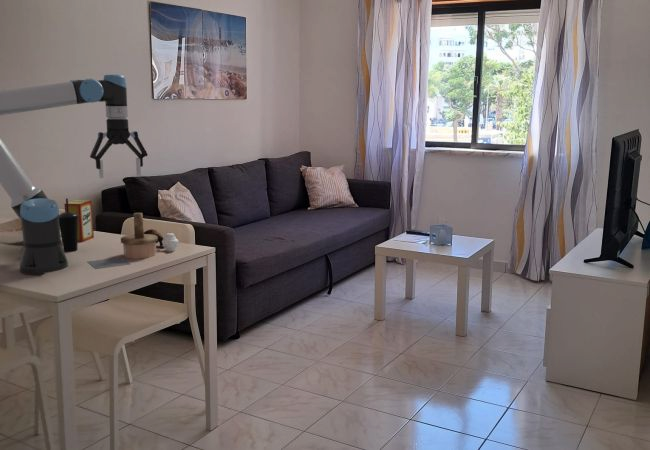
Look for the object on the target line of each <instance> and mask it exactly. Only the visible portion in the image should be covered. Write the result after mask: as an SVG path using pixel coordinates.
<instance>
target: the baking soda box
mask: <svg viewBox="0 0 650 450" xmlns="http://www.w3.org/2000/svg"><path fill="white" fill-rule="evenodd" d="M63 205H64V212H67V208H66V202H65V203H64V204H63ZM68 209H69V212H74V213H76V214H79V216H78V241H77V243H84V242H86V241H89V240H92V239H93V238H95V237H94V234H95V233H94V223H93V222H94V221H93V220H94V219H93V204H92V200H91V199H90V200H89V199H85V200H83V199H75V200H72V201H68Z"/></svg>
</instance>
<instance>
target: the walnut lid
mask: <svg viewBox="0 0 650 450" xmlns="http://www.w3.org/2000/svg"><path fill="white" fill-rule="evenodd" d="M143 214H144V213H143V212H134V213H133V227H134V228H133V230H134V231H133V232H134V233H133V234H129V235H125V236H123V237H120V243H121V244H122V245H123V244H127V245H143V244H150V243H154V242H157V241H158V236H156V235H151V234H144V232H145V231H144V217H143V216H144V215H143Z"/></svg>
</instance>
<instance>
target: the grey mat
mask: <svg viewBox="0 0 650 450" xmlns="http://www.w3.org/2000/svg"><path fill="white" fill-rule="evenodd" d="M87 264H88V265H90V266H91V267H93V269H95V270H98V269H106V268H107V269H108V268H114V267H123V266H129V265H131V262H129V261H127V260H126V259H124V258H123V257H121V256H120V257H113V258H105V259H103V258H102V259H98V260H89V261H87Z"/></svg>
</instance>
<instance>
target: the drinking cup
mask: <svg viewBox="0 0 650 450" xmlns="http://www.w3.org/2000/svg"><path fill="white" fill-rule="evenodd" d="M68 199H69V198H67V197H66V198H65V203H66V208H67V212H65V211H64V212H60V213H59V224H60V238H61V244H62V249H63V251H64V252H67V253H68V252H75V251H78V242H77V241H78V216H79V214H76V213H74V212H69V209H68V202H69V200H68Z"/></svg>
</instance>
